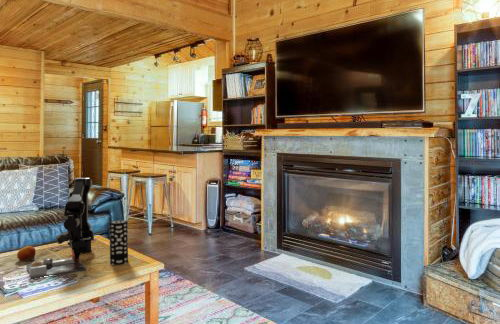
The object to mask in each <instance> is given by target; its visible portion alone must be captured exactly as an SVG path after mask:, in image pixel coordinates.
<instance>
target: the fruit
mask: <svg viewBox="0 0 500 324" xmlns="http://www.w3.org/2000/svg"><path fill="white" fill-rule="evenodd" d="M36 253H37V252H36V248H35V247H34V246H32V245H27V246H23V247H22V248H20V249H19V250H18V252H17V254H16V255H17V257H16V258H17V260H19V261H20V262H26V261H27V262H29V261H30V260H36V258H35V257H36Z"/></svg>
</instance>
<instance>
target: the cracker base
mask: <svg viewBox="0 0 500 324" xmlns="http://www.w3.org/2000/svg"><path fill="white" fill-rule="evenodd" d="M65 259H72V257H68V258H67V257H66V258H61V259H53V261H58V260H65ZM32 264H33V263H26V269H27V268H28V269H27V271H29V272H28V274H30V275H29V277H31V278H30V280H31V279H33V280H36V279H35V278H39V279H41V278H40V277H44V276H49V275H57V276H61V275H60V274H63V275H67V274H75V273H79V272H86V271H87V267H86V266H85V265H84V264H83V263H82V261H81V260H80V261H79V262H73V263H67V264H61V265H54V266H50V267H46V265H43V266H37V267H31V265H32Z"/></svg>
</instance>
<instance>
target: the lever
mask: <svg viewBox="0 0 500 324" xmlns="http://www.w3.org/2000/svg"><path fill="white" fill-rule="evenodd" d="M71 258H72V259H66V258H64V259H65V260H59V259H57V260H58V261H53V260H54V259H53V258H52V257H49V258H48V257H47V258H44V259H43V260H40V261H41V262H42V263H43V264H44V265H46V267H50V266H54V265H61V264H67V263H73V262H79V261H81V260H80V257H79V258H78V259H75V255H74V251H73V250H72V249H71ZM34 262H35V261H33V262H32V264H33V263H34Z"/></svg>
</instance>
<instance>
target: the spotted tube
mask: <svg viewBox="0 0 500 324" xmlns="http://www.w3.org/2000/svg"><path fill="white" fill-rule="evenodd" d="M128 222H129V221H128V220H123V219H120V220H119V219H118V220H117V219H116V220H111V221H109V264H110V265H111V266H112V265H113V266H121V265H125V264H128V263H129V243H128V242H129V236H128V235H129V233H128V232H129V231H128V230H129V229H128V228H129V227H128V226H129V225H128Z"/></svg>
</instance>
